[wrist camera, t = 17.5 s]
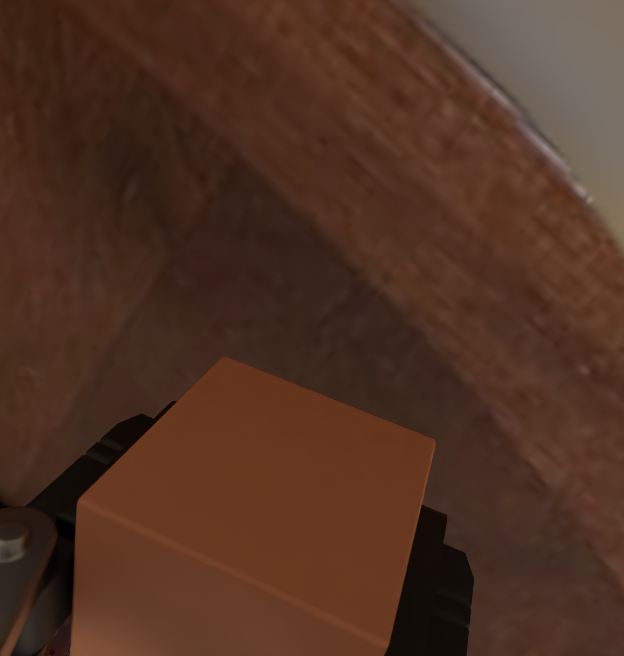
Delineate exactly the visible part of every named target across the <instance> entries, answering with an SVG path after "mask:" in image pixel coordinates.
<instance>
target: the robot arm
mask: <svg viewBox="0 0 624 656" xmlns="http://www.w3.org/2000/svg"><path fill="white" fill-rule="evenodd" d="M176 402H177V401H173V402H171V403H170V404H169V405H167V406H166V407H165V408H164V409H163V410H162V411H161V412H160V413H159V414H158V415H157V416H156V417H155V418H154V419H153V418H151V417H148V416H146V415H144V414H140V415H137V416H135V417H132V418H130V419H128V420H125V421H123V422H120V423H118V424H117V425H116V426H115V427H113V428H112V429H111V430H110V431H109V432H108V433H107V434H106V435H105V436H103V437H102V438H101V440H100V442H99V443H98V442H97V443H96V444H95V445H93V446H92V447H91V448H90V449H89V450H88V451H87V452H86V454H85V456H84V455H82V456H81V457H80V458H79V459H78V460H77V461H76V462H75V463H73V464H72V465H71V466H70V467H69V468H68V469H67V470H66V471H64V472H63V473H62V474H61V475H60V476H59V477H58V478H57V479H56V480H54V481H53V482H52V483H51V484H50V485H49V486H48V487H47V488H46V489H44V490H43V491H42V492H41V493H40V494H39V495H38V496H37V497H36V498H34V499H33V500H32V501H31V502H30V503H29V504H27V505H26V506H25V507H23V506H18V507H7V508H3V509H0V656H48V655H49V653H50V651H51V648H52V645H53V643H54V636H55V633H56V632H57V631H58V629H59V628H60V627H61V626H62V625H63V623H64V622H65V621H66V620H67V618H68V617H69V616H70V615H72V597H73V576H74V555H75V533H76V512H77V502H78V500H79V498H80V497H81V496H82V495H83V494H84V493H85V492H86V491H87V490H88V489H89V488H90V487H91V486H92V485H93V484H94V483H95V482H96V481H97V480H98V479H99V478H100V477H101V476H102V475H103V474H104V473H105V472H106V471H107V470H109V469H110V468H111V467H112V466H113V465H114V464H115V463H116V462H117V461H118V460H119V459H120V458H121V457H122V456H123V455H124V454H125V453H126V452H127V451H128V450H129V449H130V448H131V447H132V446H133V445H134V444H135V443H136V442H137V441H138V440H139V439H140V438H141V437H142V436H143V435H144V434H145V433H146V432H147V431H148V430H149V429H150V428H151V427H152V426H153V425H154V424H155V423H156V422H157V421H158V420H159V419H160V418H161V417H162V416H163V415H164V414H165V413H166V412H167V411H168V410H169V409H170V408H171V407H172V406H173V405H174V404H175V403H176ZM446 523H447V515H445V514H443V513H441V512H438V511H436V510H434V509H431V508H429V507H426V506H424V505H421V509H420V514H419V518H418V522H417V526H416V531H415V535H414V539H413V544H412V548H411V552H410V557H409V561H408V565H407V570H406V574H405V578H404V582H403V587H402V591H401V595H400V600H399V604H398V608H397V613H396V617H395V621H394V626H393V630H392V634H391V638H390V643H389V646H388V648H387V650H386V652H385V654H384V656H466V655H467V644H468V634H469V630H468V627H469V624H470V614H471V609H470V607H471V604H472V594H473V584H474V578H473V575H472V572H471V569H470V566H469V563H468V560H467V557H466V554H465V553H464V552H462V551H459V550H457V549H455V548H452V547H450V546H448V545H445V544H443V541H444V535H445V529H446Z"/></svg>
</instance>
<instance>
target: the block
mask: <svg viewBox="0 0 624 656" xmlns="http://www.w3.org/2000/svg"><path fill="white" fill-rule="evenodd" d="M434 449H435V440H434V439H432V438H430V437H427V436H425V435H422V434H420V433H417V432H415V431H412V430H410V429H407V428H405V427H402V426H400V425H397V424H395V423H392V422H390V421H387V420H385V419H382V418H379V417H377V416H374V415H372V414H369V413H367V412H364V411H362V410H359V409H357V408H354V407H352V406H349V405H347V404H344V403H342V402H339V401H337V400H334V399H332V398H329V397H327V396H324V395H322V394H319V393H316V392H314V391H311V390H309V389H306V388H304V387H301V386H299V385H296V384H294V383H291V382H289V381H286V380H284V379H281V378H279V377H276V376H274V375H271V374H269V373H266V372H264V371H261V370H259V369H256V368H253V367H251V366H248V365H246V364H243V363H241V362H238V361H236V360H233V359H231V358H228V357H222V358H221V359H220V360H219V361H218V362H217V363H216V364H215V365H214V366H213V367H212V368H211V369H210V370H209V371H208V372H207V373H206V374H205V375H204V376H203V377H202V378H201V379H200V380H199V381H198V382H197V383H196V384H195V385H194V386H193V387H192V388H191V389H190V390H189V391H188V392H187V393H186V394H185V395H184V396H183V397H182V398H181V399H180V400H178V401H177V402H176V403H175V404H174V405H173V406H172V407H171V408H170V409H169V410H168V411H167V412H166V413H165V414H164V415H163V416H162V417H161V418H160V419H159V420H158V421H157V422H156V423H155V424H154V425H153V426H152V427H151V428H150V429H149V430H148V431H147V432H146V433H145V434H144V435H143V436H142V437H141V438H140V439H139V440H138V441H137V442H136V443H135V444H134V445H133V446H132V447H131V448H130V449H129V450H128V451H127V452H126V453H125V454H124V455H123V456H122V457H121V458H120V459H119V460H118V461H117V462H116V463H115V464H114V465H113V466H112V467H111V468H110V469H109V470H107V471H106V472H105V473H104V474H103V475H102V476H101V477H100V478H99V479H98V480H97V481H96V482H95V483H94V484H93V485H92V486H91V487H90V488H89V489H88V490H87V491H86V492H85V493H84V494H83V495H82V496H81V497H80V498H79V500H78V502H77V512H76V533H75V555H74V576H73V597H72V618H71V639H70V656H384V654H385V652H386V650H387V648H388V646H389V643H390V638H391V634H392V630H393V626H394V621H395V617H396V613H397V608H398V604H399V600H400V595H401V591H402V587H403V582H404V578H405V574H406V570H407V565H408V561H409V557H410V552H411V548H412V544H413V539H414V535H415V531H416V526H417V522H418V518H419V514H420V509H421V505H422V501H423V496H424V492H425V488H426V483H427V479H428V475H429V470H430V466H431V462H432V457H433V453H434Z"/></svg>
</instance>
